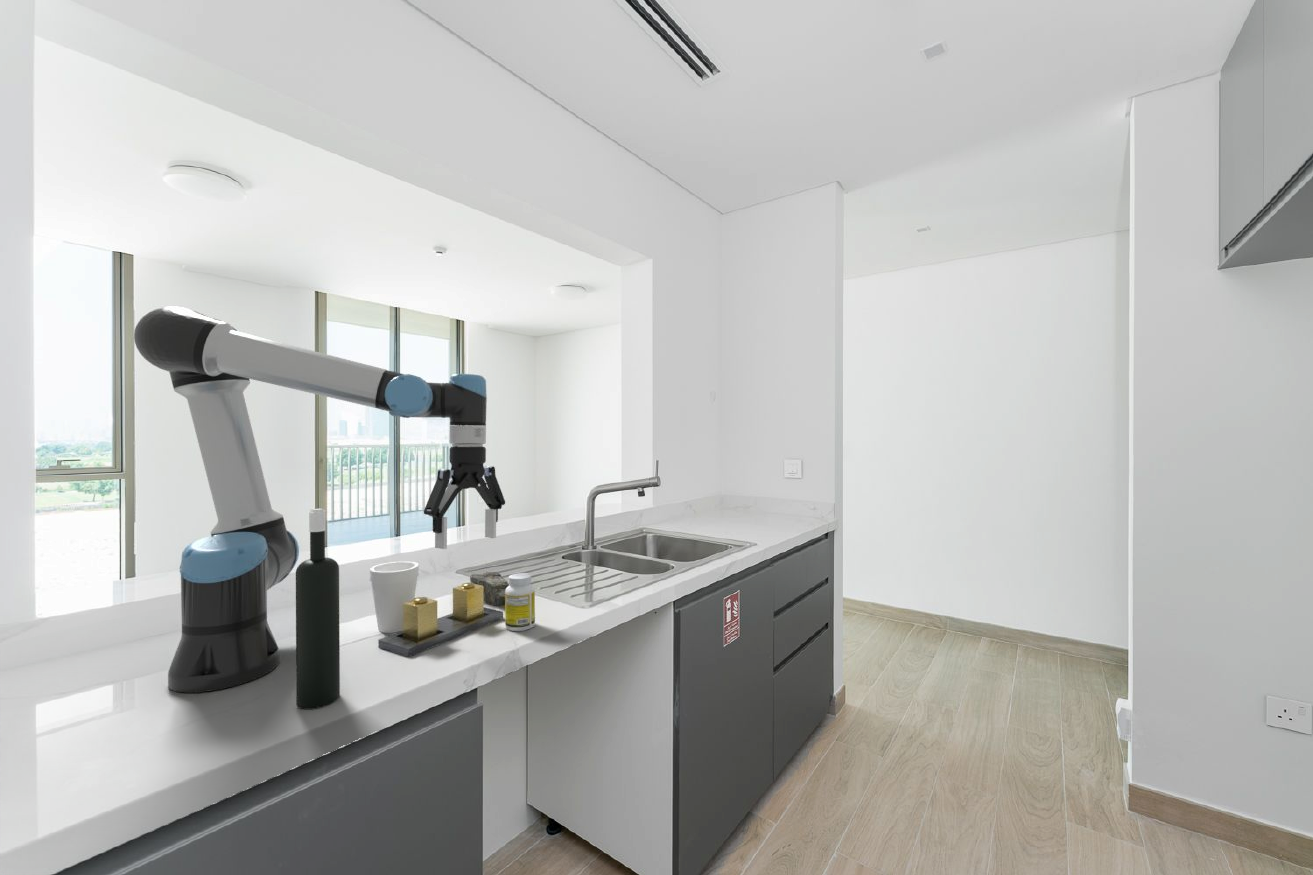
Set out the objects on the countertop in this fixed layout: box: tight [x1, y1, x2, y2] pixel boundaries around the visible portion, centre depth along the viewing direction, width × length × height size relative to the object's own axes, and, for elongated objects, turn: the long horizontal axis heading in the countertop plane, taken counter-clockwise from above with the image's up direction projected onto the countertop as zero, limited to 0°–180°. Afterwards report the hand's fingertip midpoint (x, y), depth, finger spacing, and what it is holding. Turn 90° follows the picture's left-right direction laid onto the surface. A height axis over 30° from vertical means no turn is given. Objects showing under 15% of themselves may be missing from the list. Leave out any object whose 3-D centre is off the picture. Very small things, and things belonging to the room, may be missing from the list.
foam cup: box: [369, 560, 420, 634], centre depth 117 cm, size 10×9×13 cm
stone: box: [469, 571, 510, 607], centre depth 136 cm, size 14×7×10 cm, turn 53°
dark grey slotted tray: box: [377, 606, 504, 658], centre depth 114 cm, size 24×9×2 cm, turn 150°
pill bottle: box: [504, 572, 536, 632], centre depth 117 cm, size 6×6×11 cm
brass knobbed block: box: [452, 582, 484, 623], centre depth 119 cm, size 4×4×9 cm
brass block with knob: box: [402, 596, 438, 643], centre depth 109 cm, size 4×4×9 cm
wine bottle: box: [295, 507, 341, 710], centre depth 85 cm, size 6×6×30 cm
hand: (466, 542), depth 119 cm, fingers open, 13 cm apart
